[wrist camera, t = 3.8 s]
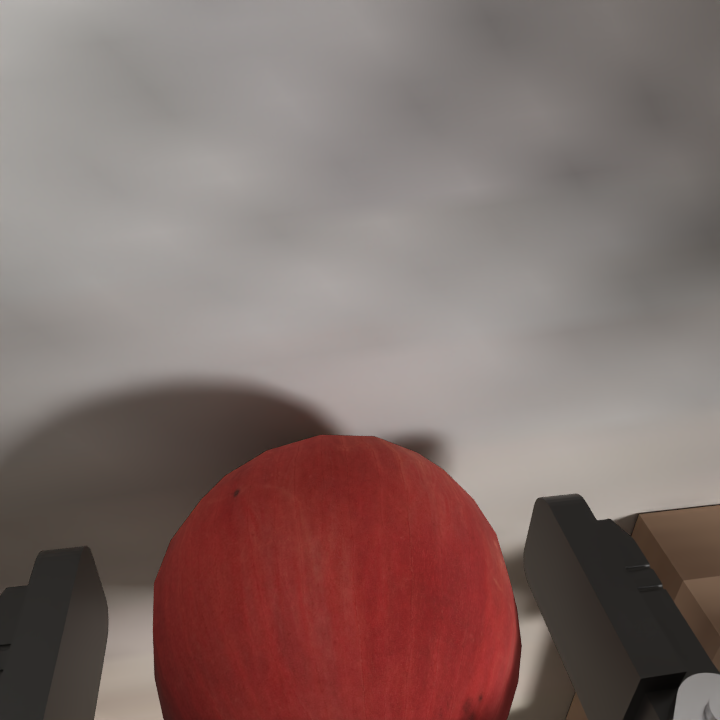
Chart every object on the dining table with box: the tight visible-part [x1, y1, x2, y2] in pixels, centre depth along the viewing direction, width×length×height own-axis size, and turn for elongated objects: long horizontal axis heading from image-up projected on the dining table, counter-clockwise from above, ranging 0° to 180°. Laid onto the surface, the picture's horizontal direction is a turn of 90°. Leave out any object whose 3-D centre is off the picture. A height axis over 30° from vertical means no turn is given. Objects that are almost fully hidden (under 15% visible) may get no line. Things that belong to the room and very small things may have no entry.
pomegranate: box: [153, 435, 522, 720], centre depth 11 cm, size 6×6×8 cm
